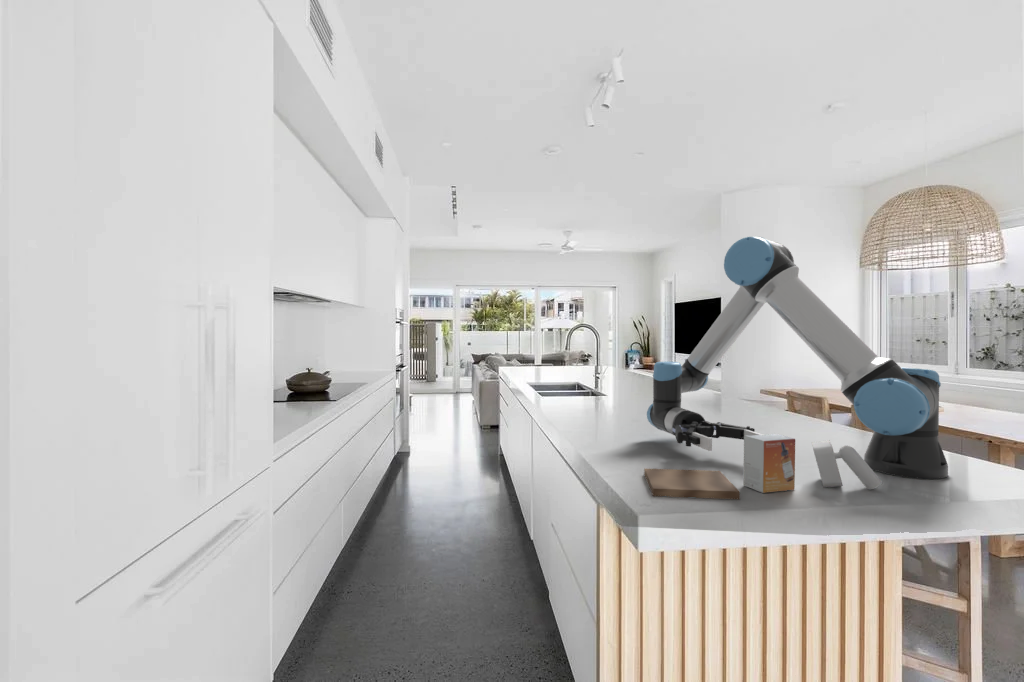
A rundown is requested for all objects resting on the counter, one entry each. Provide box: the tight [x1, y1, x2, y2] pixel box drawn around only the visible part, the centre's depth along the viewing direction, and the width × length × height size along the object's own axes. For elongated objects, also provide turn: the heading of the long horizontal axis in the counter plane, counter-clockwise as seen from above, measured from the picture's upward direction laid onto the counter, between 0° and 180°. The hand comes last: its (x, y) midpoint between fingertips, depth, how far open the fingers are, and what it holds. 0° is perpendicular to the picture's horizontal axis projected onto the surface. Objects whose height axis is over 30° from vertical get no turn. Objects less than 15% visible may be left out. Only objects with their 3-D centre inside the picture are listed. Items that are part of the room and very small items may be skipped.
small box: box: [743, 432, 796, 494], centre depth 104 cm, size 8×6×10 cm
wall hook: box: [811, 439, 883, 490], centre depth 105 cm, size 8×10×10 cm
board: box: [643, 467, 741, 500], centre depth 105 cm, size 16×14×2 cm
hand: (737, 443), depth 113 cm, fingers open, 13 cm apart
